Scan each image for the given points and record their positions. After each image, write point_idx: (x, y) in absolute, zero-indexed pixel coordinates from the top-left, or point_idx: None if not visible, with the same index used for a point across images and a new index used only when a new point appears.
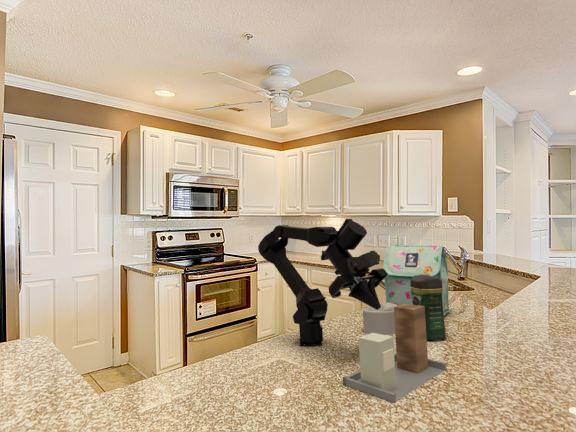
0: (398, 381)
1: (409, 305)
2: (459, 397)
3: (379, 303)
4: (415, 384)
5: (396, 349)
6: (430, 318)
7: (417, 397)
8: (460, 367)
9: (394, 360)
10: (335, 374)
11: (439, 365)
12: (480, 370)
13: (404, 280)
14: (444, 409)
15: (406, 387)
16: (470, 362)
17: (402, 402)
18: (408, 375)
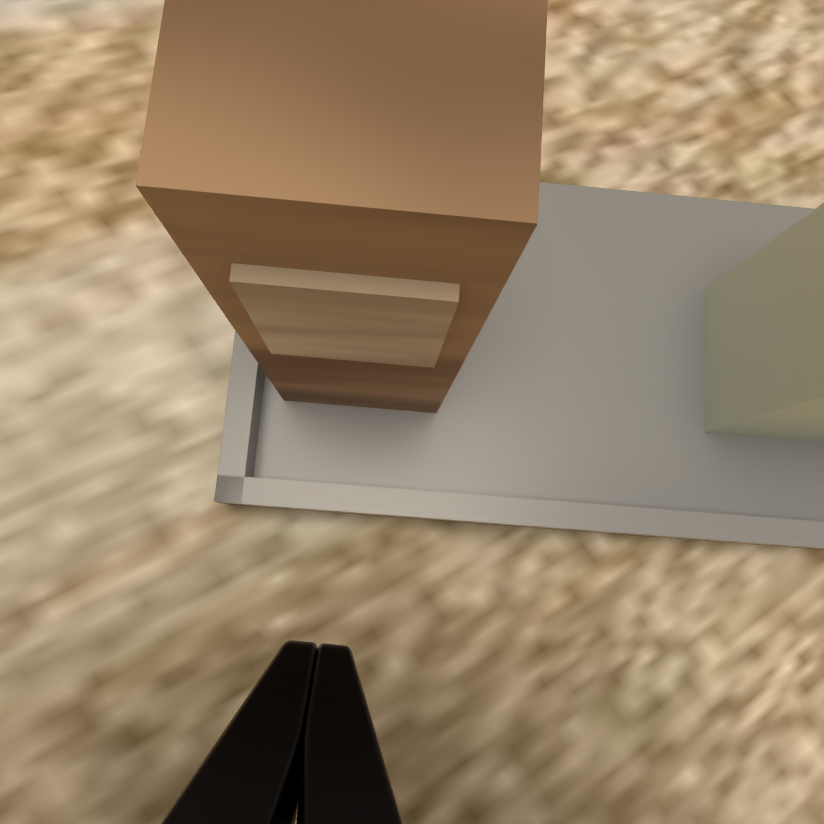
0: (633, 309)
1: (260, 57)
2: (569, 19)
3: (265, 689)
4: (607, 216)
5: (449, 384)
6: None
7: (705, 172)
8: (136, 124)
9: (797, 223)
10: (758, 731)
11: None
12: (123, 22)
13: None
14: (735, 36)
15: (679, 238)
16: (2, 100)
17: (805, 207)
18: (511, 300)
